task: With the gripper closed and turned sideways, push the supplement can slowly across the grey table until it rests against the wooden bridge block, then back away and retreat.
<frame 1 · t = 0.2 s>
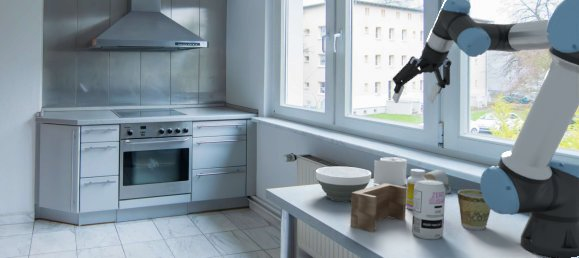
hand: (412, 100, 164), 36 cm above the table, tool tilted 35°, fingers open, 13 cm apart
bowl: (342, 198, 176), on the table
toilet tissue: (391, 184, 201), on the table
wooden bridge block: (371, 220, 149), on the table
ceramic mug: (437, 191, 190), on the table
ceramic cup: (476, 226, 147), on the table
supplement can: (427, 236, 137), on the table
supplement bottle: (415, 208, 165), on the table
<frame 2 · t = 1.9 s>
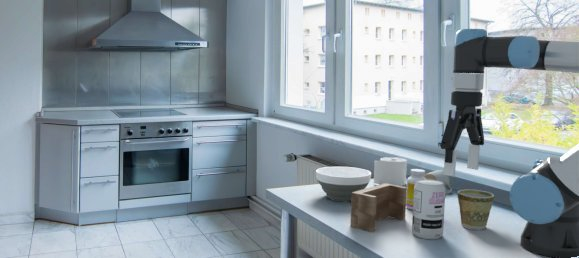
hand: (461, 172, 129), 19 cm above the table, tool pointing down, fingers open, 13 cm apart
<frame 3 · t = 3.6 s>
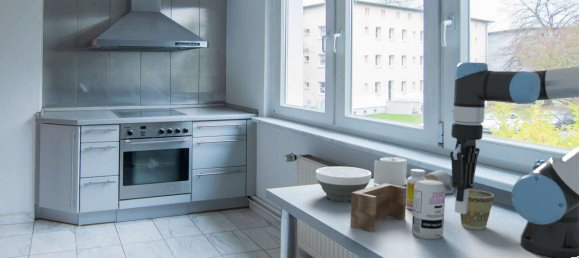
hand: (460, 212, 130), 8 cm above the table, tool pointing down, fingers closed
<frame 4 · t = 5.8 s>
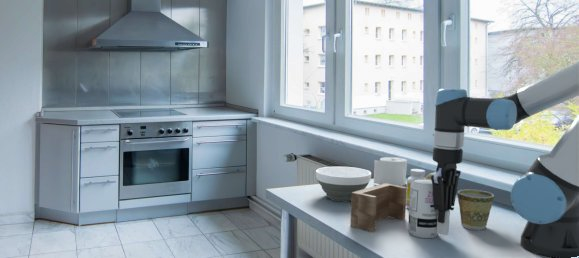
hand: (442, 233, 134), 2 cm above the table, tool pointing down, fingers closed
supplement can: (423, 234, 138), on the table, touching gripper
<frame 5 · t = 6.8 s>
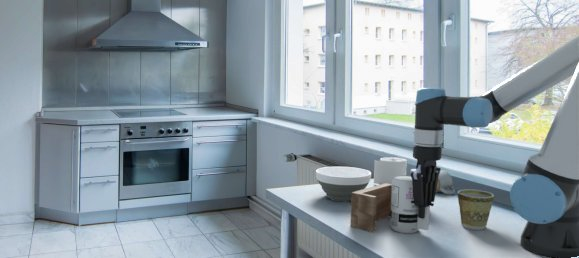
hand: (422, 228, 138), 2 cm above the table, tool pointing down, fingers closed
supplement can: (404, 230, 142), on the table, touching gripper
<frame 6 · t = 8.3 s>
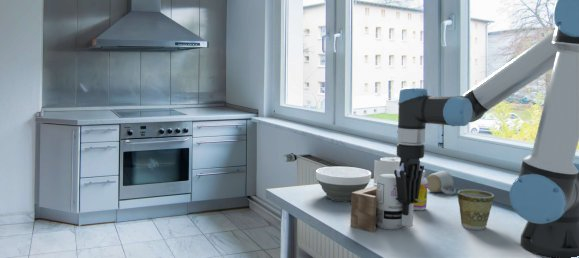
hand: (406, 225, 141), 1 cm above the table, tool pointing down, fingers closed
supplement can: (389, 226, 145), on the table, touching gripper
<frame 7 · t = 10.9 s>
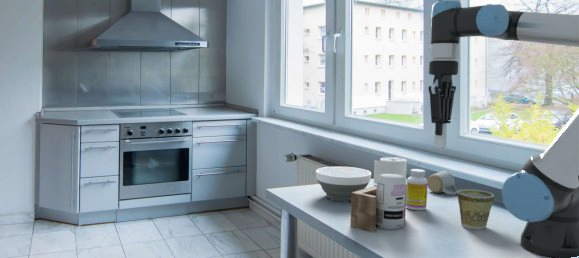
hand: (439, 146, 136), 24 cm above the table, tool pointing down, fingers closed
supplement can: (389, 226, 145), on the table
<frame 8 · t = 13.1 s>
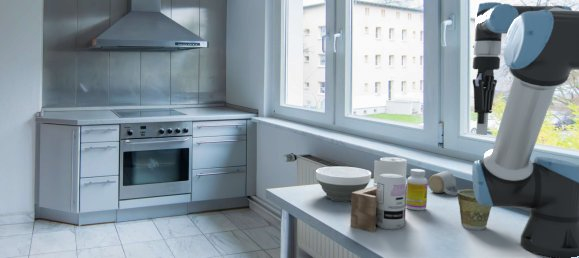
hand: (481, 134, 151), 26 cm above the table, tool pointing down, fingers closed
at the end: supplement can inside the target area on the wooden bridge block (0.2 cm from its centre), point 0.0 cm above the wooden bridge block's base; supplement can tilted 0°; supplement can moved 11.9 cm from its start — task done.
